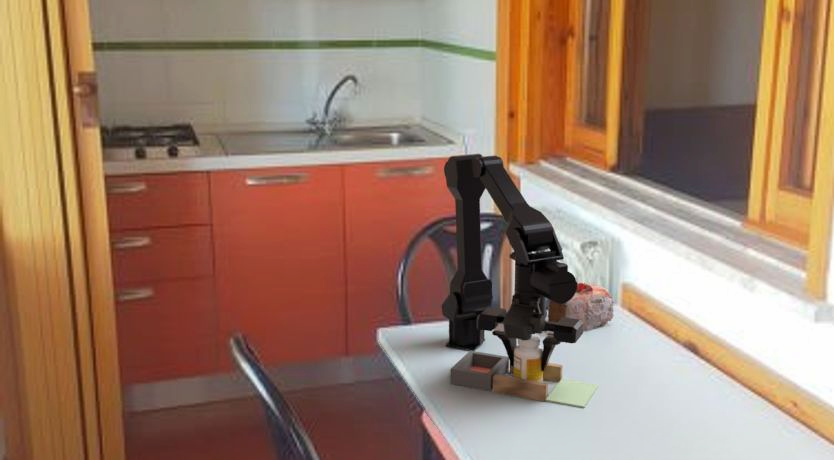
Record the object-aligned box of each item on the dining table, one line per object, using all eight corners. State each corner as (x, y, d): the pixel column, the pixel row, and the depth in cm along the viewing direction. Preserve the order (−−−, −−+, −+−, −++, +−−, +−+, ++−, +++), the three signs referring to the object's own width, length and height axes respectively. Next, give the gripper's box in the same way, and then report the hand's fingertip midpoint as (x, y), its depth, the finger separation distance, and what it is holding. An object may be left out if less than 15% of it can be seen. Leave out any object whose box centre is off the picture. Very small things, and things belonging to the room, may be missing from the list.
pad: (545, 401, 166) (545, 399, 166) (561, 380, 175) (561, 378, 175) (584, 407, 163) (584, 406, 163) (598, 386, 172) (598, 385, 172)
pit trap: (450, 383, 173) (450, 368, 173) (470, 364, 182) (470, 350, 181) (490, 391, 170) (490, 375, 169) (508, 371, 179) (509, 356, 178)
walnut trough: (492, 391, 170) (493, 376, 169) (511, 371, 179) (511, 356, 178) (545, 401, 166) (546, 385, 165) (562, 379, 175) (562, 365, 174)
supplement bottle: (546, 382, 174) (547, 334, 171) (537, 394, 169) (538, 343, 166) (518, 378, 176) (519, 329, 173) (509, 389, 171) (510, 339, 169)
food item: (591, 315, 210) (593, 274, 207) (616, 326, 203) (618, 283, 201) (543, 326, 203) (545, 283, 200) (567, 338, 196) (569, 293, 194)
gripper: (465, 293, 164) (465, 376, 168) (568, 307, 157) (565, 393, 161) (487, 276, 174) (486, 354, 178) (585, 289, 167) (582, 370, 170)
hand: (528, 368), depth 171 cm, fingers closed on supplement bottle, 5 cm apart
